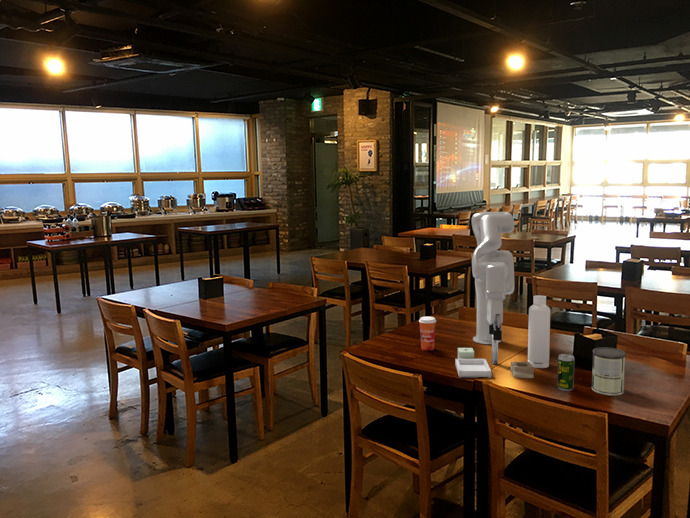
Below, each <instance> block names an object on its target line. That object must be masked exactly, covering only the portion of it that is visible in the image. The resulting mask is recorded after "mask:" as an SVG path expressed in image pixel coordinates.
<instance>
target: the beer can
mask: <svg viewBox="0 0 690 518" xmlns="http://www.w3.org/2000/svg"><path fill="white" fill-rule="evenodd" d="M575 361H576V360H575V356H574V355H572V354H569V353H568V354H567V353H561V354H558V357H557V379H556V381H557V382H556V383H557V384H556V385H557V388H558V390H559V391H564V392H571V391H573V390H574V384H575V383H574V381H575Z"/></svg>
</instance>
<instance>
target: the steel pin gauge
mask: <svg viewBox="0 0 690 518" xmlns="http://www.w3.org/2000/svg"><path fill="white" fill-rule="evenodd" d="M498 360H499V343H498V340H493V335H492V344H491V364H492V365H494V364H495V366H496V364H497V365H498V364H499V362H498Z"/></svg>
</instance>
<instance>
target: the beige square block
mask: <svg viewBox="0 0 690 518" xmlns="http://www.w3.org/2000/svg"><path fill="white" fill-rule="evenodd" d="M534 371H535V367H533V366H532V365H531V363H530V362H528V361H510V373H511V375H512V376H513V378H514V379H534V375H535V374H534V373H535V372H534Z"/></svg>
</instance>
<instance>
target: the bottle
mask: <svg viewBox="0 0 690 518" xmlns="http://www.w3.org/2000/svg"><path fill="white" fill-rule="evenodd" d="M550 331H551V308H550V306H548V305H547V296H546V295H542V294H541V295H539V294H537V295H536V294H535V295H533V304H532V305H531V306H529V307H528V331H527V333H528V339H527V341H528V343H527V362H530V363H531V365H532V366H533V367H534V369H535V368H536V369H546V368H548V367H549V366H550V344H551V343H550V341H551V340H550V336H551V335H550V334H551V332H550Z"/></svg>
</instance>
